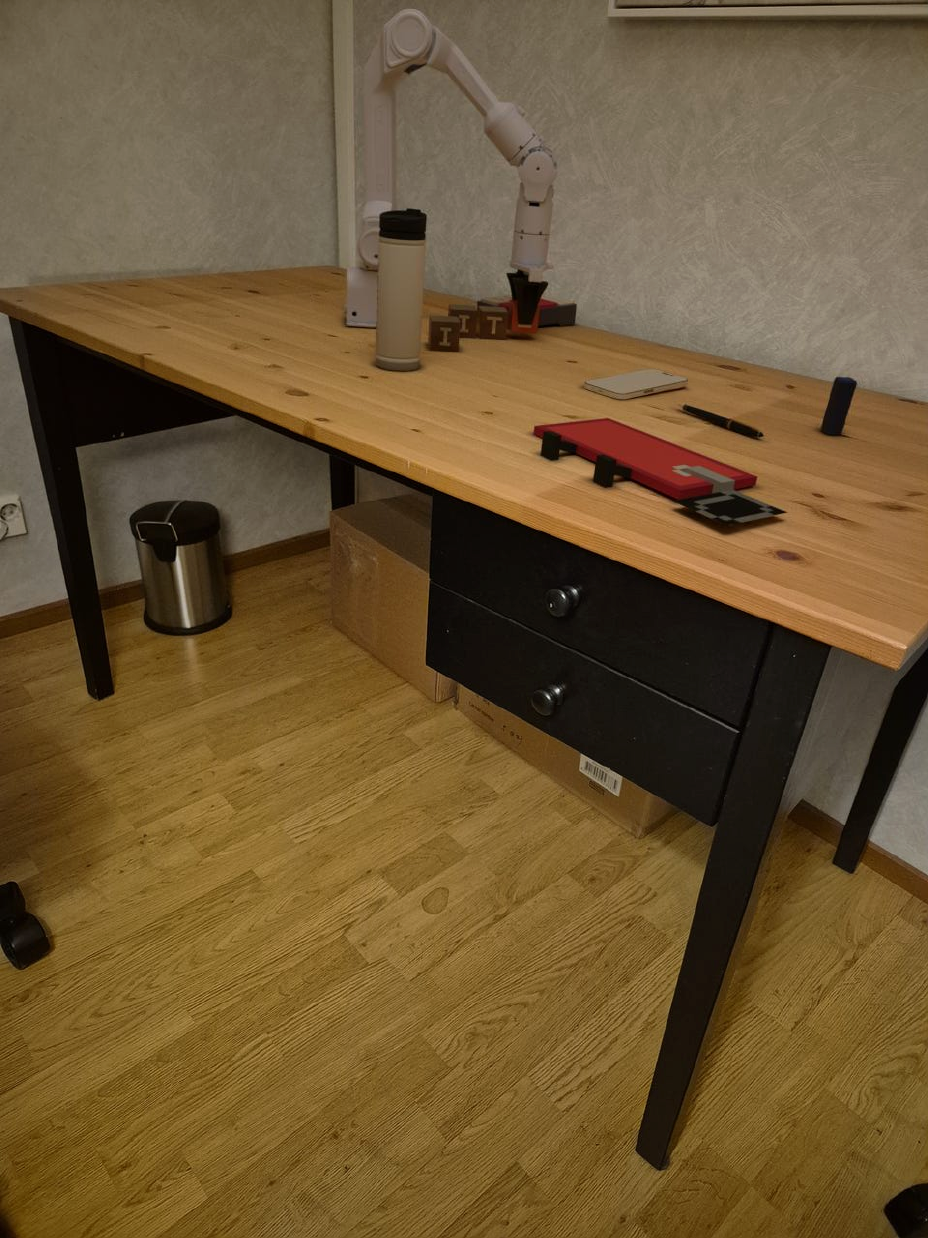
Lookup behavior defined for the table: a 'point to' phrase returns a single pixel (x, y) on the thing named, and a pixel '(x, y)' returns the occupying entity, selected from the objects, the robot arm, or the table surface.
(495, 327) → the T block
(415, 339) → the travel mug
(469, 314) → the dark brown cube block
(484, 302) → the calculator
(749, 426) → the fountain pen
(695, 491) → the red board with handle
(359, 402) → the table surface
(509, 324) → the block
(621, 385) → the smartphone
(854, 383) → the eraser
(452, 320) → the I block front
